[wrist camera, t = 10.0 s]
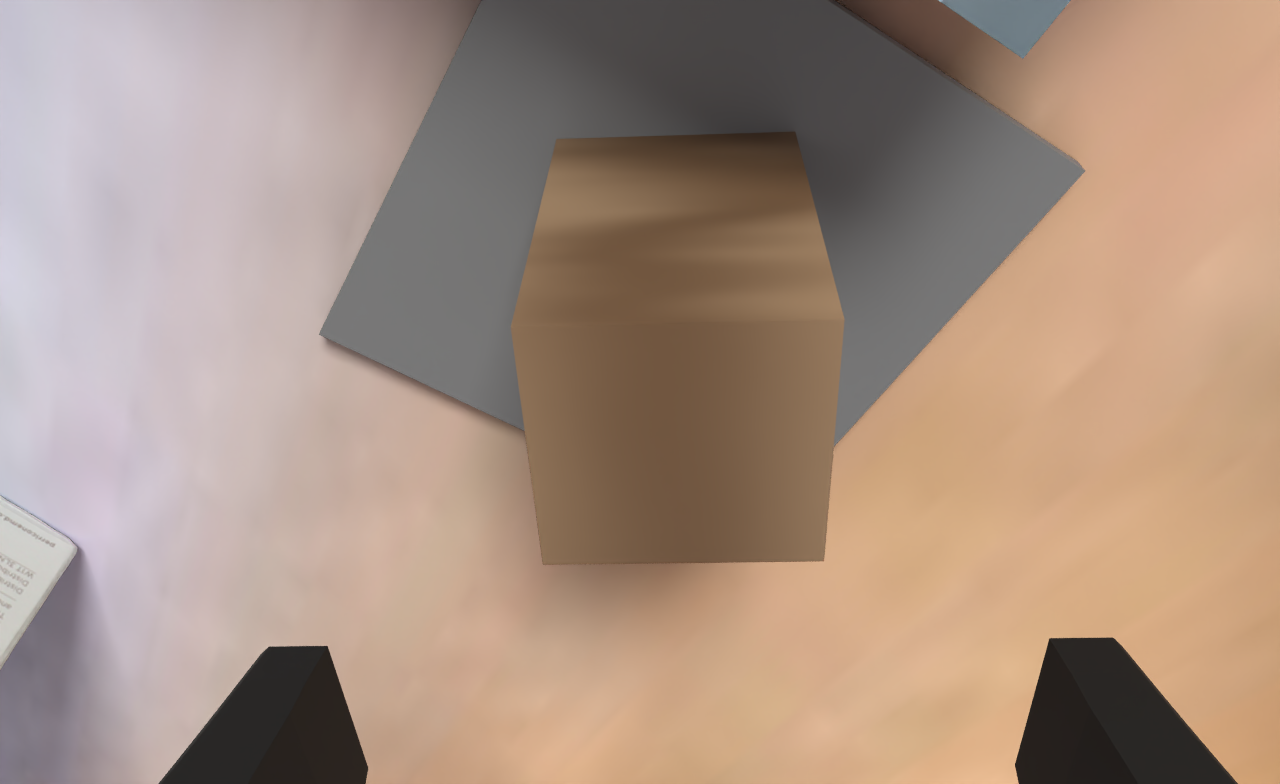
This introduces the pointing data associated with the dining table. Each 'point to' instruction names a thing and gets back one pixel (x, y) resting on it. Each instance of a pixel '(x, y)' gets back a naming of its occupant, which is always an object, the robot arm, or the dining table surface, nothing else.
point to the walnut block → (679, 353)
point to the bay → (1010, 19)
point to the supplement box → (26, 570)
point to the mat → (692, 105)
